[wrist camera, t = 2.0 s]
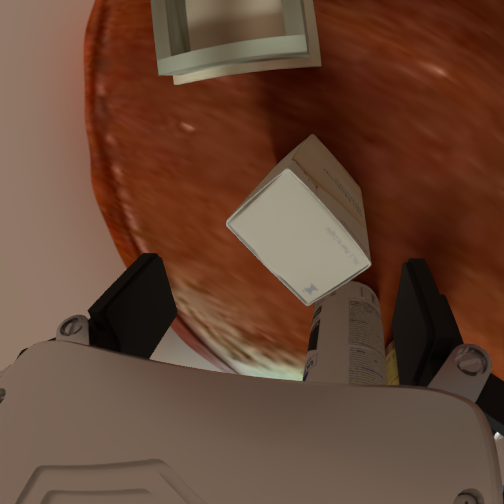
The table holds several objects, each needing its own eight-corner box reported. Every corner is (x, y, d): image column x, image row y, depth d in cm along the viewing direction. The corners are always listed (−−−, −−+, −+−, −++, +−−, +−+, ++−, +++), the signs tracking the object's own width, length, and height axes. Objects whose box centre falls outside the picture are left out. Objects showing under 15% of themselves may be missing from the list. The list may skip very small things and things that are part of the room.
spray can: (309, 281, 29) (262, 488, 12) (379, 273, 27) (392, 491, 10) (319, 331, 32) (284, 512, 15) (381, 326, 30) (381, 514, 13)
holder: (302, -57, 14) (294, -80, 10) (321, 66, 20) (319, 60, 16) (166, -28, 17) (140, -41, 14) (178, 84, 23) (152, 85, 19)
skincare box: (361, 188, 24) (379, 267, 13) (321, 219, 26) (308, 311, 16) (310, 130, 22) (289, 163, 12) (271, 165, 25) (221, 225, 15)
